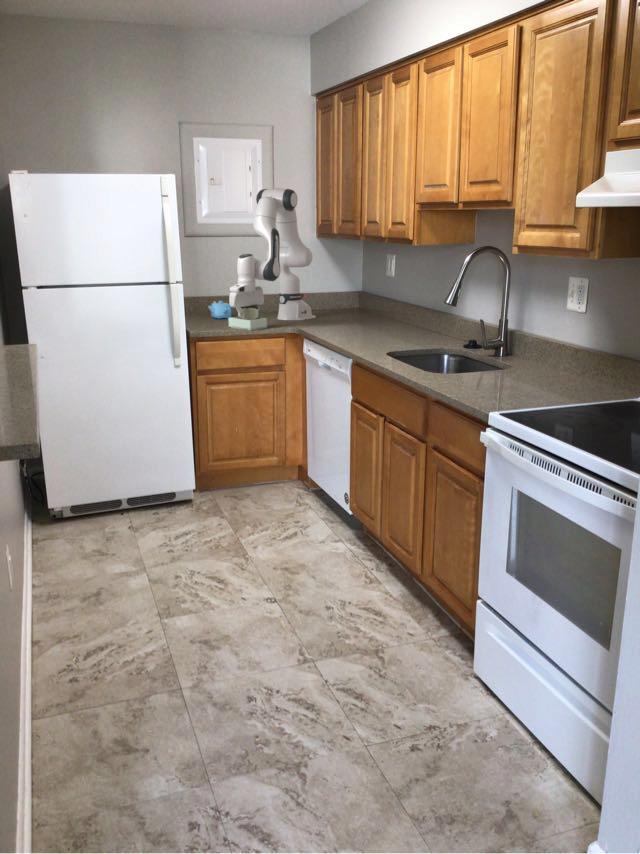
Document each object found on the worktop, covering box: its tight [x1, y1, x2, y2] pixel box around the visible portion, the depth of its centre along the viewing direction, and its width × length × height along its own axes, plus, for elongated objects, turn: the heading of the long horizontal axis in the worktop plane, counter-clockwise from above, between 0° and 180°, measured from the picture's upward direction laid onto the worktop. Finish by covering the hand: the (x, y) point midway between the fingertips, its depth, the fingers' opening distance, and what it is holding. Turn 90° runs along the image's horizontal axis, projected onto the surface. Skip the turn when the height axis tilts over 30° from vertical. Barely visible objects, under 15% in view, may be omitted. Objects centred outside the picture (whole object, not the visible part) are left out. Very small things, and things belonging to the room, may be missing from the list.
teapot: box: [207, 300, 232, 320], centre depth 423 cm, size 18×14×10 cm
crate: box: [227, 316, 268, 332], centre depth 388 cm, size 11×17×5 cm, turn 46°
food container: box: [238, 304, 261, 320], centre depth 389 cm, size 12×6×10 cm, turn 76°
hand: (247, 315), depth 387 cm, fingers open, 8 cm apart
